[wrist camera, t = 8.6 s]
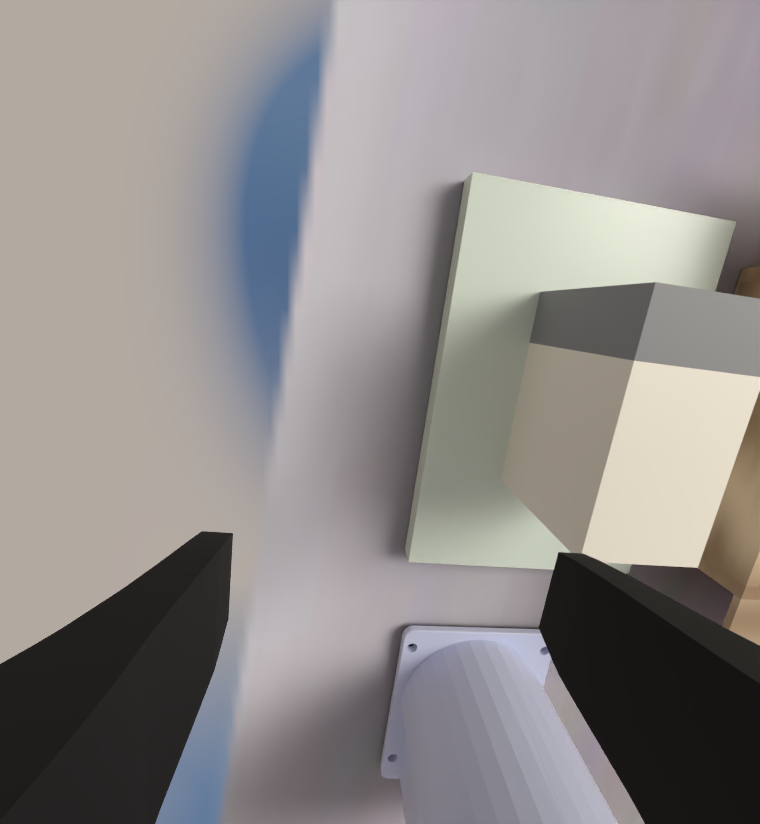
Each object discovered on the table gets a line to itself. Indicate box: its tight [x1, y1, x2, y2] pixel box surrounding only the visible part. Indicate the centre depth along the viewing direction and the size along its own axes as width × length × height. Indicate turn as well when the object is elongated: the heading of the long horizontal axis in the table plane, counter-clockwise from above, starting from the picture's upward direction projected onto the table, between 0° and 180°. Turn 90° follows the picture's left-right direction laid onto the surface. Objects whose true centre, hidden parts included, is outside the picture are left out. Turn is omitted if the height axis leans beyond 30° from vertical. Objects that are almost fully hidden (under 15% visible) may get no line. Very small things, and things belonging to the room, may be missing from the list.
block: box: [500, 282, 760, 568], centre depth 14 cm, size 8×4×6 cm, turn 173°
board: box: [405, 172, 736, 573], centre depth 18 cm, size 16×11×1 cm
